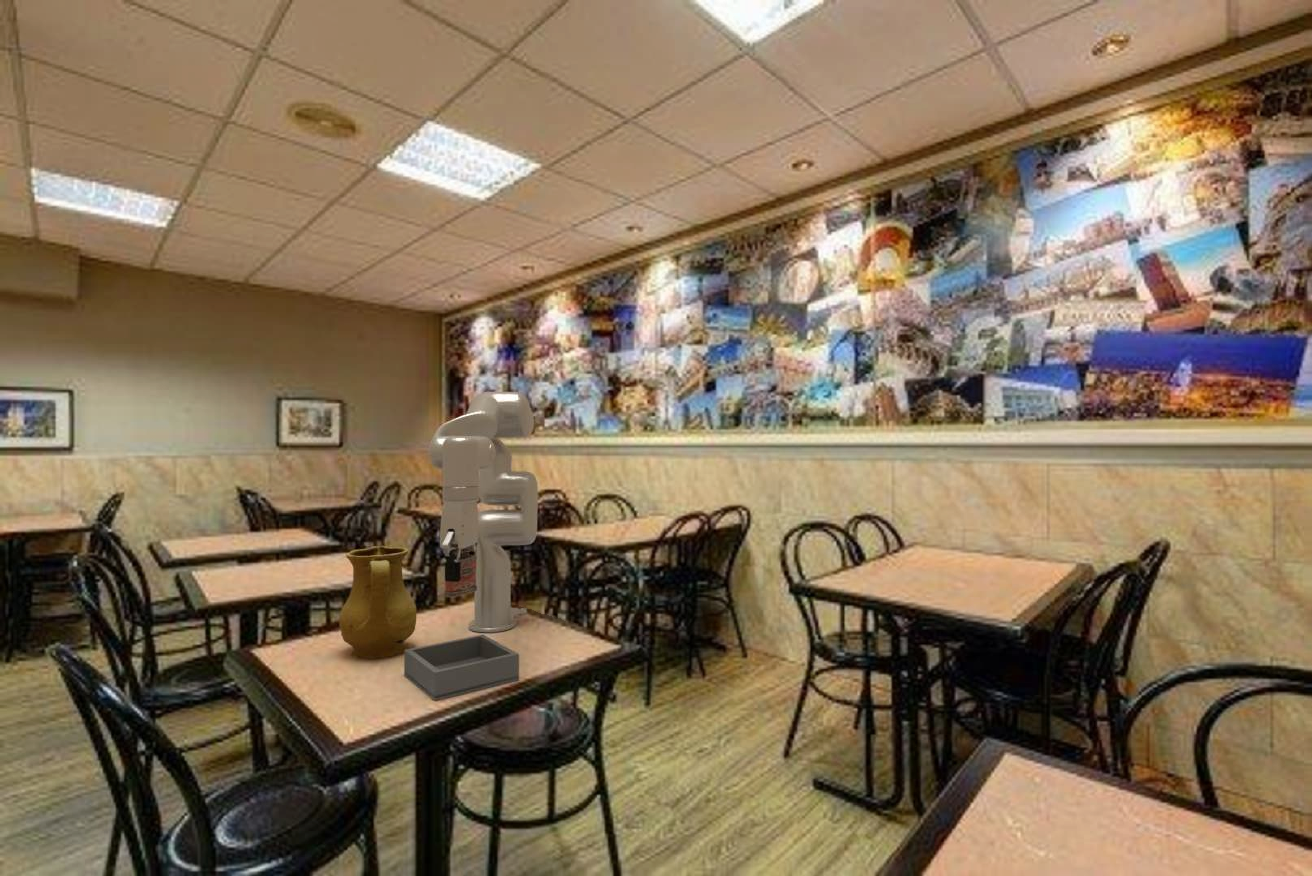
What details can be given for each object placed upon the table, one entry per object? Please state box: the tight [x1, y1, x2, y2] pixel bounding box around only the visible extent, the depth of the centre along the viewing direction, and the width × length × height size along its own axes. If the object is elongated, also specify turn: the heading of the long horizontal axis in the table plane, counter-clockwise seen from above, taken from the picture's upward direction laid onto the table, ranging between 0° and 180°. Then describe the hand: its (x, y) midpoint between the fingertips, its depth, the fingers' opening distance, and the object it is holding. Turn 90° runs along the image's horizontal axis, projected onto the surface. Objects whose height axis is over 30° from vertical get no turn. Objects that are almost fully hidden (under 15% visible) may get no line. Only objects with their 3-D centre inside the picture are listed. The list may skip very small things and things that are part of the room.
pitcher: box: [338, 545, 417, 660], centre depth 158 cm, size 17×19×25 cm
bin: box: [403, 634, 520, 702], centre depth 141 cm, size 18×18×6 cm
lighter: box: [444, 545, 477, 598], centre depth 141 cm, size 8×3×10 cm, turn 150°
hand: (461, 576), depth 141 cm, fingers closed on lighter, 7 cm apart
